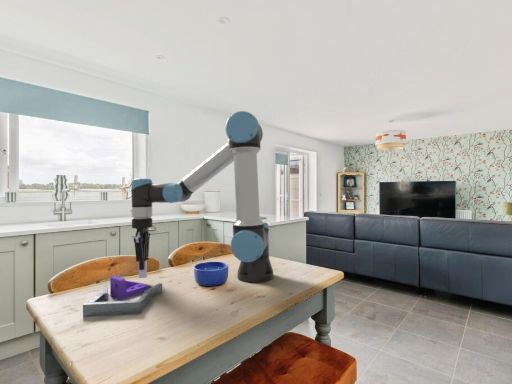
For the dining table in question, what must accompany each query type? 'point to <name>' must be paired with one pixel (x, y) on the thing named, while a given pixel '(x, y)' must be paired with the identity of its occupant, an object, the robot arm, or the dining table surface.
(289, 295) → the dining table surface
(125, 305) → the spouted tray
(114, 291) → the bracket
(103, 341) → the dining table surface
